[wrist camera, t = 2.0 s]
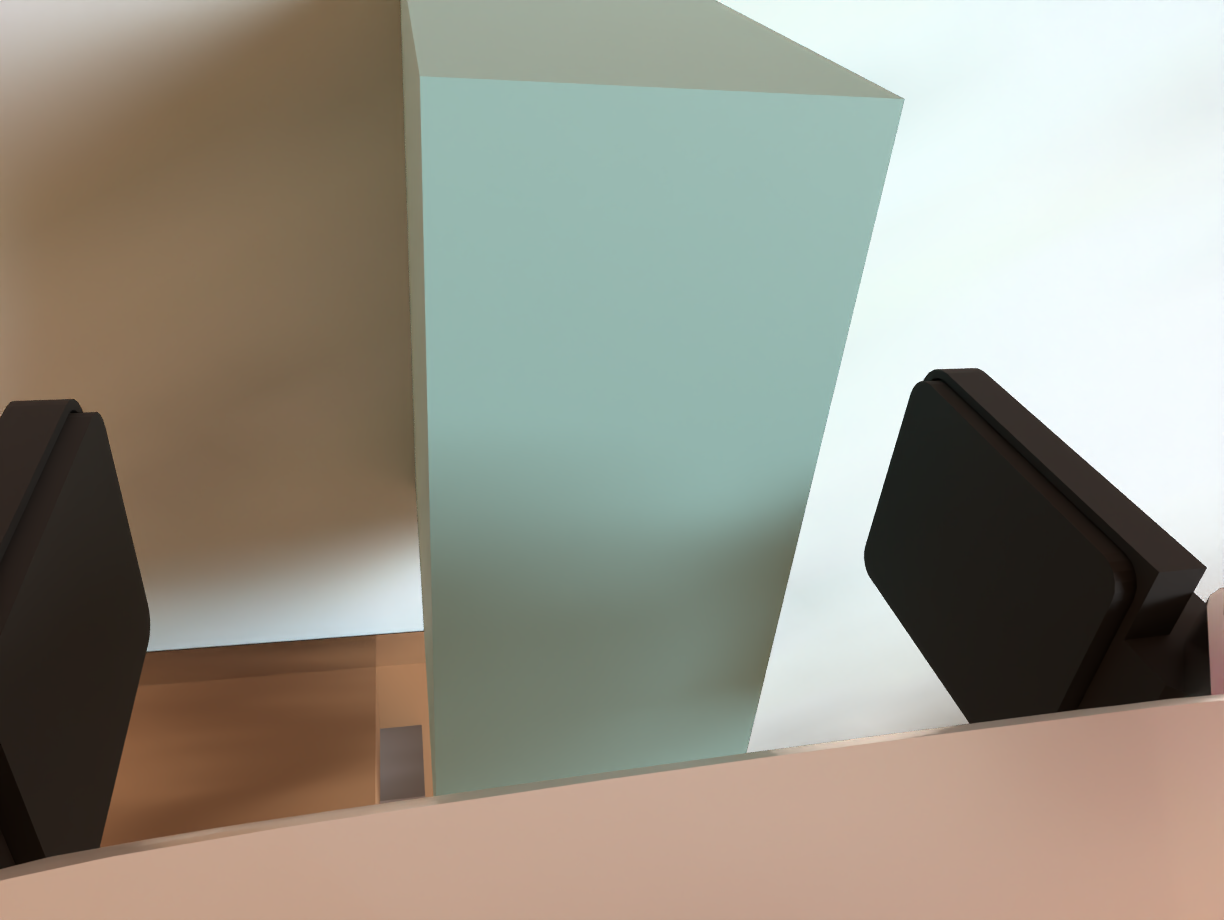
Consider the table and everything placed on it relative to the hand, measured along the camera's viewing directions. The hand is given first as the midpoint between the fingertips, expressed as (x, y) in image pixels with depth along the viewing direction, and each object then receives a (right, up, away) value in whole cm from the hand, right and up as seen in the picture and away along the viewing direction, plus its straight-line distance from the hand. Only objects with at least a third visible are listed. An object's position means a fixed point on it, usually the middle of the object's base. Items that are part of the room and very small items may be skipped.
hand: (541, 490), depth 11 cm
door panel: (-1, +4, +6) cm, 8 cm away
